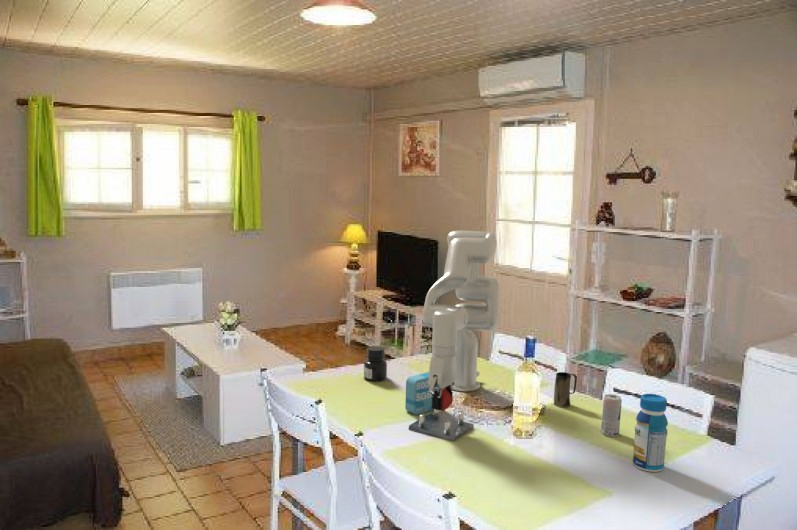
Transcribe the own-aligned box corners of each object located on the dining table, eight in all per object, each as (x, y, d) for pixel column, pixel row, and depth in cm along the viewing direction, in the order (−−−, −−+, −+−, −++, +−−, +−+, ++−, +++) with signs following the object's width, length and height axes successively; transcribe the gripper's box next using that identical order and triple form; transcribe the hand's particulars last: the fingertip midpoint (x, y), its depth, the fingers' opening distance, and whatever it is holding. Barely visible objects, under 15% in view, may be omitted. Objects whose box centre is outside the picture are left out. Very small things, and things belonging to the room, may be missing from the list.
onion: (438, 415, 201) (439, 390, 200) (429, 409, 206) (430, 385, 205) (454, 412, 204) (455, 388, 203) (445, 406, 209) (446, 382, 208)
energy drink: (620, 432, 206) (622, 395, 204) (617, 438, 201) (620, 401, 200) (602, 429, 208) (605, 393, 207) (599, 435, 204) (602, 398, 202)
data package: (413, 415, 216) (414, 380, 214) (404, 411, 219) (405, 377, 218) (440, 408, 224) (441, 374, 222) (431, 404, 227) (432, 370, 225)
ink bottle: (363, 374, 258) (363, 345, 256) (385, 374, 259) (386, 344, 257) (364, 382, 248) (364, 352, 246) (387, 382, 249) (388, 351, 247)
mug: (550, 404, 230) (552, 371, 228) (559, 400, 234) (561, 368, 232) (569, 410, 224) (571, 376, 222) (578, 407, 228) (580, 373, 226)
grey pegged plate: (429, 416, 215) (430, 402, 215) (473, 427, 207) (474, 413, 206) (408, 429, 205) (409, 414, 204) (454, 441, 196) (454, 426, 195)
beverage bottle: (661, 475, 177) (667, 405, 174) (628, 467, 181) (634, 398, 178) (666, 464, 184) (672, 396, 181) (635, 457, 188) (641, 390, 186)
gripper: (446, 342, 211) (444, 396, 214) (419, 354, 197) (417, 411, 200) (467, 346, 207) (465, 400, 210) (441, 358, 193) (439, 417, 196)
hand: (442, 405), depth 205 cm, fingers closed on onion, 5 cm apart
